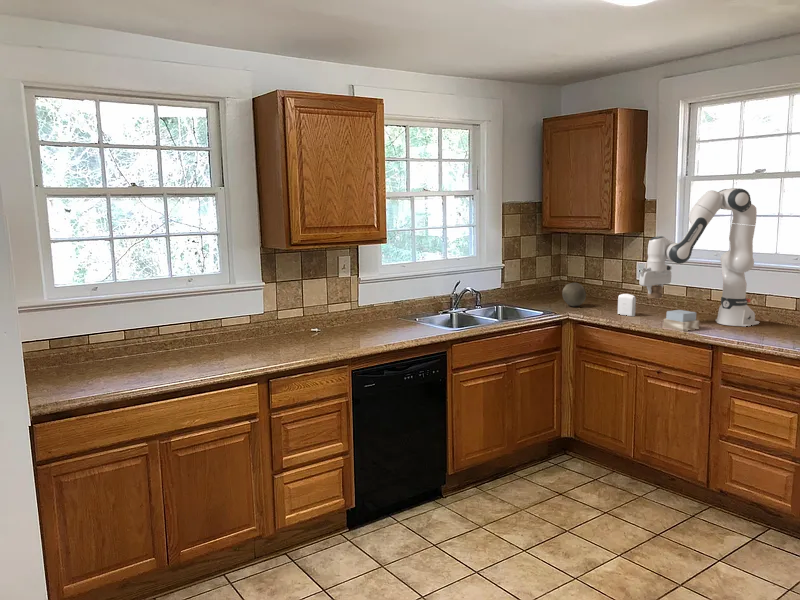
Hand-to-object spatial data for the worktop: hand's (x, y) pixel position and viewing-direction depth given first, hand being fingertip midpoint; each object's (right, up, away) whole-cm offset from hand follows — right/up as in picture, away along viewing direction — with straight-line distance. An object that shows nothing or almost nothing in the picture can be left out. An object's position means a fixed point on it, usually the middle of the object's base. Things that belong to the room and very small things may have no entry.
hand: (654, 293), depth 341 cm
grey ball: (-28, -8, +58) cm, 64 cm away
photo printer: (-5, -13, +28) cm, 31 cm away
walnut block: (0, -2, 0) cm, 2 cm away
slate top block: (+9, -14, -12) cm, 20 cm away
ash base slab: (+9, -19, -11) cm, 23 cm away
